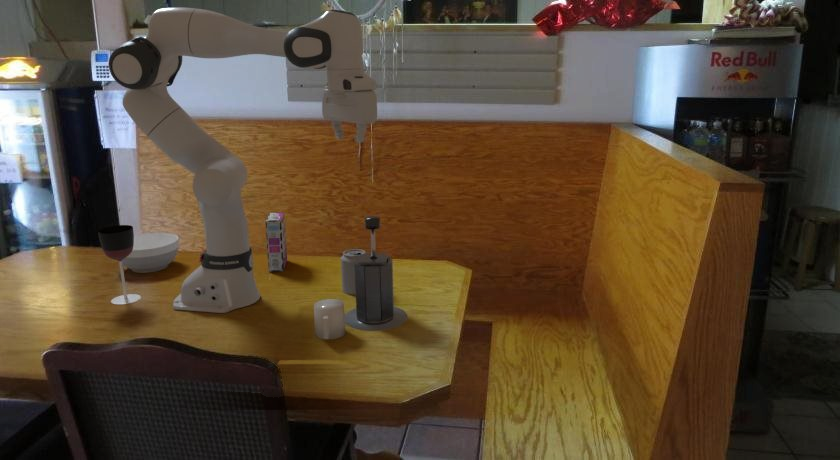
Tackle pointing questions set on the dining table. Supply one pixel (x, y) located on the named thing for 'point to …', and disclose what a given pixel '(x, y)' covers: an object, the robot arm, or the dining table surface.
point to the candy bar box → (276, 242)
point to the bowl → (152, 252)
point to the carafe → (374, 289)
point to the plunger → (372, 232)
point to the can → (349, 270)
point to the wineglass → (119, 253)
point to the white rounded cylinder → (329, 319)
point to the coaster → (352, 321)
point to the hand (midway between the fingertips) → (349, 140)
